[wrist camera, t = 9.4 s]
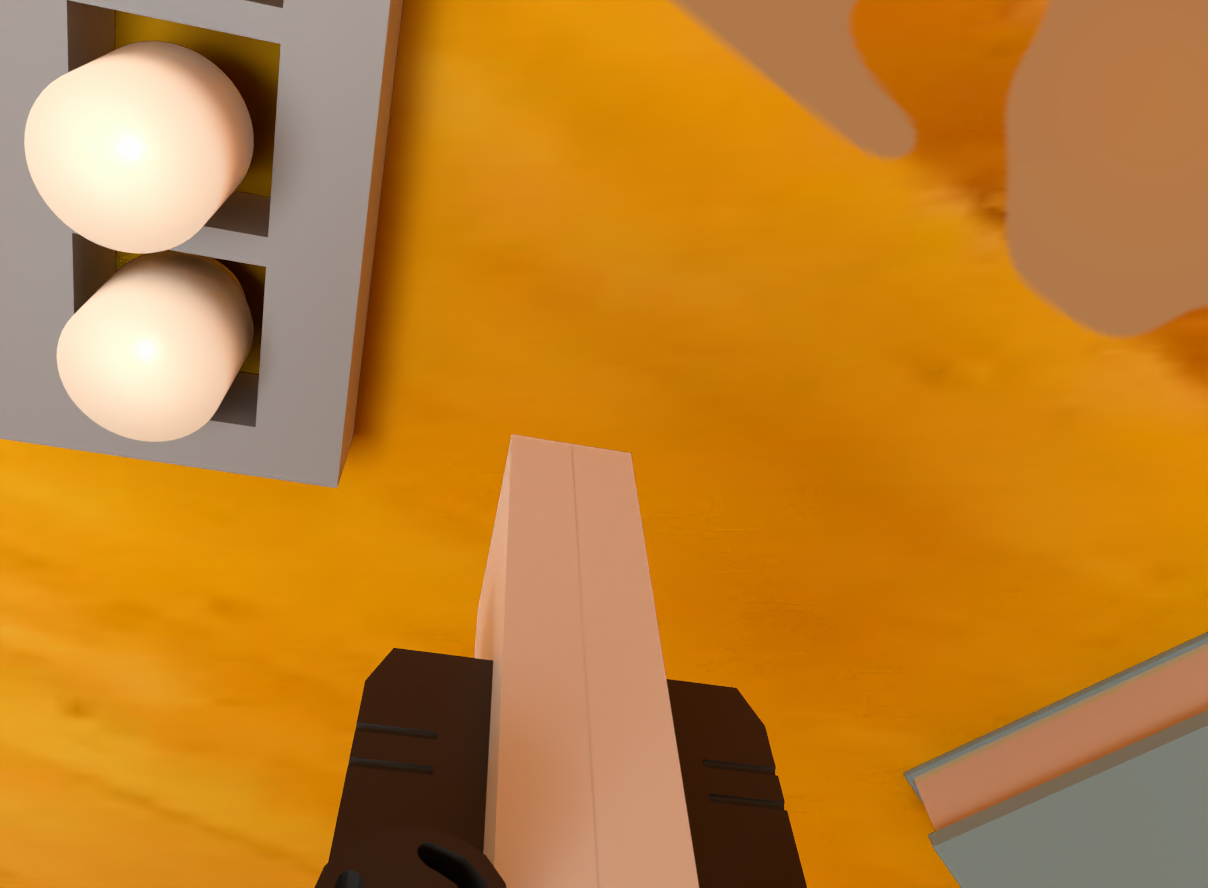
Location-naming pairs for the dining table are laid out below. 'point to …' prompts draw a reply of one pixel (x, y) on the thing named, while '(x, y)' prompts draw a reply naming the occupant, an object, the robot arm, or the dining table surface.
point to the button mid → (139, 146)
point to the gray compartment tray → (216, 233)
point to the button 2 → (157, 346)
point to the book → (1084, 787)
